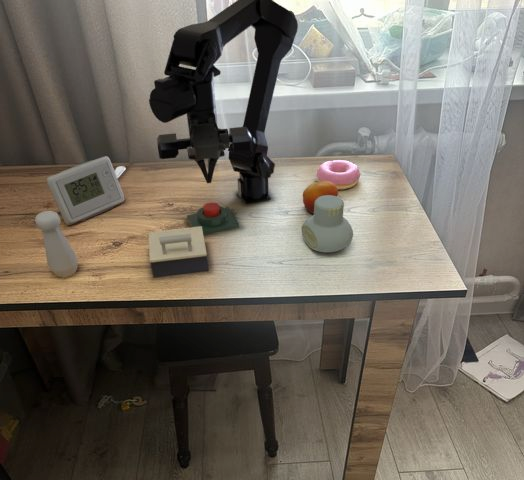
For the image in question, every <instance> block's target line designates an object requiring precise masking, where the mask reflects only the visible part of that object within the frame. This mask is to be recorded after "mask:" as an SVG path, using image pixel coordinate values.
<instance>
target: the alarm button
mask: <svg viewBox="0 0 524 480" xmlns="http://www.w3.org/2000/svg"><path fill="white" fill-rule="evenodd" d="M219 206H220V204H219V203H217V202H207V203H205V204H203V205H202V207H203V210H204V215H205V216H207V217H215V216H218V215H219V214H220V207H219Z"/></svg>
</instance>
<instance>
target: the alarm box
mask: <svg viewBox="0 0 524 480" xmlns="http://www.w3.org/2000/svg"><path fill="white" fill-rule="evenodd" d="M219 207H220V214H219V215H218V216H215V217H207V216H205V215H204V210H203V206H202V207H201V208H199V209H198V210H197V212H196V213H192V214H187V215H186V220H187V221H188V224H189V225H190V226H189V227H199V226H202V231H203V236H207V235H212V234H216V233H222V232H226V231H231V230H235V229H239V228H240V222H239V221H238V219H237V217H236V216H235V215H234V213H233V212H232V210H231V209H230V207H229V206H227V207H224V206H222V205H219Z"/></svg>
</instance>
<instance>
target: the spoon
mask: <svg viewBox="0 0 524 480" xmlns="http://www.w3.org/2000/svg"><path fill="white" fill-rule="evenodd" d="M126 170H127V169H126V166H124V165H120V166H119V165H118V166H117V167H115V169H114V171H115V174H116V176H117V179H118V180H119V178H120V177H121V175H123V173H124V172H125V171H126Z"/></svg>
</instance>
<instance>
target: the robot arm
mask: <svg viewBox="0 0 524 480" xmlns="http://www.w3.org/2000/svg"><path fill="white" fill-rule="evenodd" d="M250 27H252V28H253V29H254V37H253V39H254V43H255V47H256V51H257V58H256V64H255V68H254V72H253V73H254V74H253V77H252V82H251V87H250V92H249V97H248V101H247V104H246V111H245V113H244V114H245V115H244V119H243V124H242V126H236V127H229V129H228V128H219V126H218V117H217V107H216V105H217V104H216V94H215V85H214V78H215V77H217V76H220V75H221V73H222V72H221V70H220V69H219V68H217V66H215V64H216V62H217V61H219V59H220V58H221V57H222V55H223V50H224V47H226V46H227V45H228V44H229V43H230V42H231V41H233V40H234V39H235V38H237V37H238V36H240V35H241V34H242V33H243V32H245V31H246V30H247V29H249V28H250ZM298 29H299V22H298V20H297V18H296V16H295V13H294V11H292V10H288V9H287V8H286V7H284V6H282V5H281V4H279V3H277V2H276V1H274V0H236V1H234V2H233V3H231V4H230V5H229V6H227V7H226V8H224V9H222V10H221V11H220V12H219V13H217V14H216V15H214V16H213V17H212V18H210V19H208V20H206V21H204V22H199V23H193V24H189V25H186V26H183V27H180V28H178V29H177V30H176V31H175V33H174V34H173V40H172V42H171V43H172V44H171V47H170V50H169V54H168V58H167V61H166V63H165V68H164V71H163V72H164V73H163V74H164V75H165V76H166V77H163V78H157V79H156V80H155V79H154V81H153V83H154V88H153V89H152V90H151V91H150V94H149V99H148V102H149V107H150V110H151V112H152V114H153V115H154V117H155V118H156V119H157V120H158V121H159V122H161V123H164V124H167V123H170V122H172V121H174V120H176V119H178V118H180V117H183V116H185V115H186V119H187V127H188V136H189V137H187V138H179V139H178V138H177V133H175V132H174V133H163V134H158V136H157V138H156V144H157V151H158V158H159V159H160V160H168V159H176V158H177V157H178V155H179V154H180V152H179V150H181V151H182V150H186V152H187V156H188V160H190V161H191V160H192V161H194V162H195V163H196V164H197V165H198V167H199V169H200V171H201V174H202V176H203V177H204V180H205V182H206V184H211V183H212V181H213V176H214V172H215V168H216V165H217V162H218V160H219V159H220V158H222V157H225V154H226V153H225V151H226V149H227V152H228V161H229V162H230V165H231V167H232V170H233V172H235V173H236V172H237V173H238V176H239V178H237V194H238V196H239V198H240V199H242V201H243V202H244V203H245V205H251V204H255V203H261V202H266V201H270V200H271V199H272V196H271V195H270V193H269V179H270V178H271V177H272V174H274V173H275V171H274V170H275V167H276V163H275V162H274V161H273V160H272V159H271V158H270V157H269V156H268V153H269V152H268V151H269V144H268V140H267V136H266V133H265V132H266V127H267V123H268V119H269V114H270V109H271V106H272V101H273V96H274V93H275V88H276V83H277V79H278V75H279V70H280V66H281V62H282V60H284V58H285V57H286V55H288V53H289V52H290V51H291V50H292V47H293V45H294V41H295V40H296V39H295V38H296V36H297V33H298ZM180 65H181V66H180ZM184 66H186V67H184ZM189 67H190V68H189ZM205 160H207V165H206V161H205Z"/></svg>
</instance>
